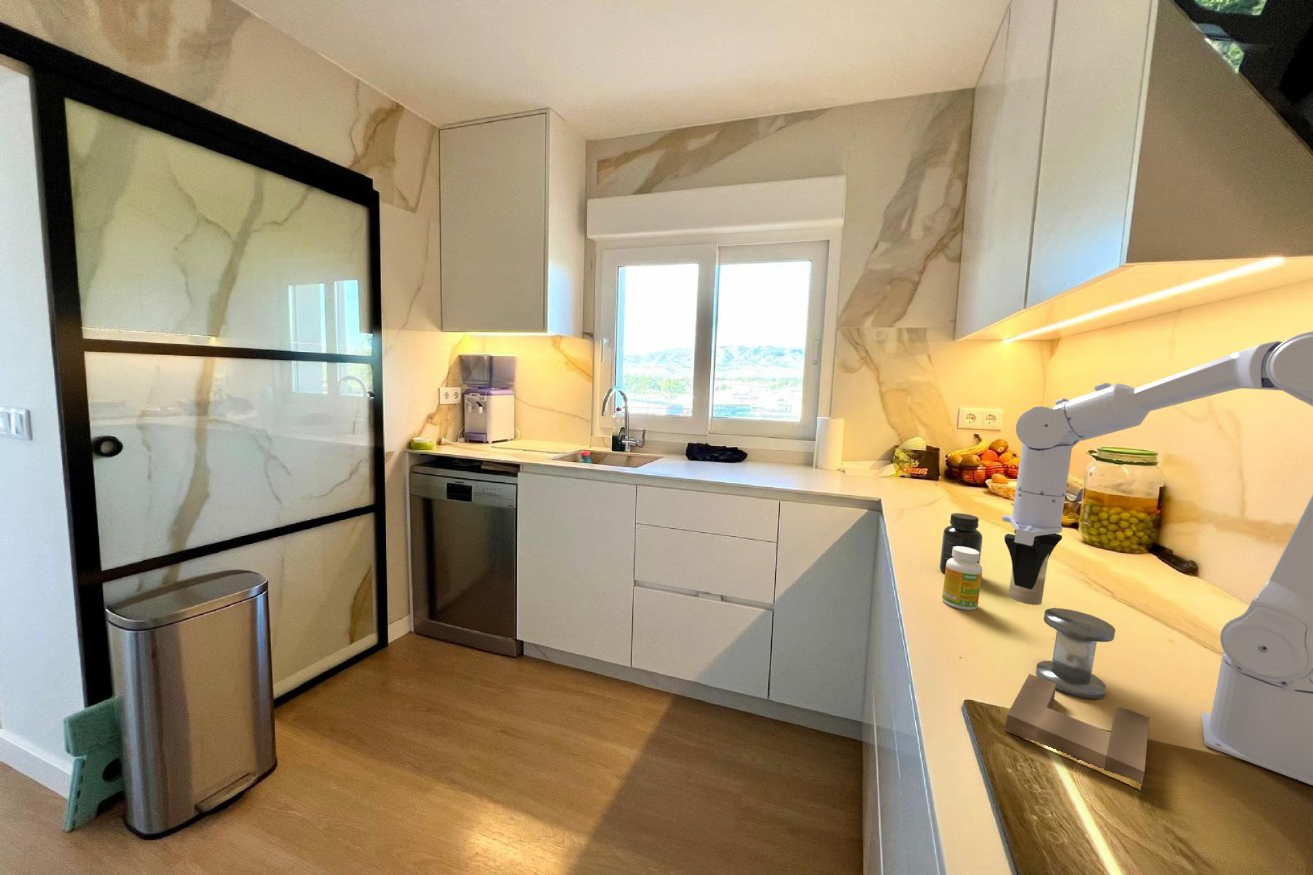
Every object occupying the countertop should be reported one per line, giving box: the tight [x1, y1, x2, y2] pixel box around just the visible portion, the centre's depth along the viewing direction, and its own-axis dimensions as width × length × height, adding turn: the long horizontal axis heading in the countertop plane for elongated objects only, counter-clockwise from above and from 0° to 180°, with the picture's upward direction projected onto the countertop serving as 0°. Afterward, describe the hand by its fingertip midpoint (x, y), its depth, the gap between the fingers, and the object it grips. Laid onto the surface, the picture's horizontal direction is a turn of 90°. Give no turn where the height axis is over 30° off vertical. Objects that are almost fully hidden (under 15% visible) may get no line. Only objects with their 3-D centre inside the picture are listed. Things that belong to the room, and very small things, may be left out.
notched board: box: [1004, 673, 1150, 786], centre depth 57 cm, size 11×12×2 cm
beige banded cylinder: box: [1007, 554, 1050, 606], centre depth 76 cm, size 4×4×8 cm
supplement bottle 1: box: [939, 512, 983, 575], centre depth 105 cm, size 7×7×12 cm
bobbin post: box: [1035, 607, 1116, 701], centre depth 67 cm, size 7×7×8 cm
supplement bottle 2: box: [941, 546, 983, 611], centre depth 90 cm, size 5×5×10 cm
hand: (1027, 582), depth 76 cm, fingers closed on beige banded cylinder, 4 cm apart
